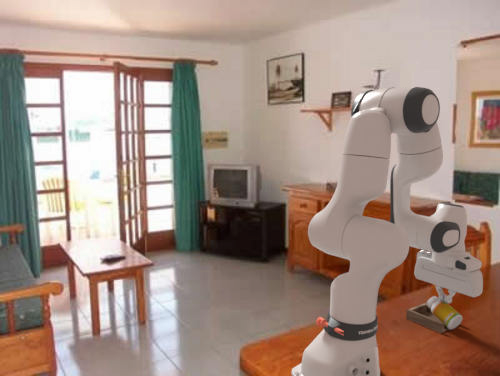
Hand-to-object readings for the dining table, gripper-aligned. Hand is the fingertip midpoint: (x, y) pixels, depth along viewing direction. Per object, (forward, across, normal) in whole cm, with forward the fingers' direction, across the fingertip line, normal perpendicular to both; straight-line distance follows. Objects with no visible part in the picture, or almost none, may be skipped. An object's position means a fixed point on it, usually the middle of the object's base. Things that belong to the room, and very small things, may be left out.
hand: (445, 301), depth 135 cm
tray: (+8, -3, 0) cm, 8 cm away
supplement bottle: (+5, +4, 0) cm, 7 cm away
